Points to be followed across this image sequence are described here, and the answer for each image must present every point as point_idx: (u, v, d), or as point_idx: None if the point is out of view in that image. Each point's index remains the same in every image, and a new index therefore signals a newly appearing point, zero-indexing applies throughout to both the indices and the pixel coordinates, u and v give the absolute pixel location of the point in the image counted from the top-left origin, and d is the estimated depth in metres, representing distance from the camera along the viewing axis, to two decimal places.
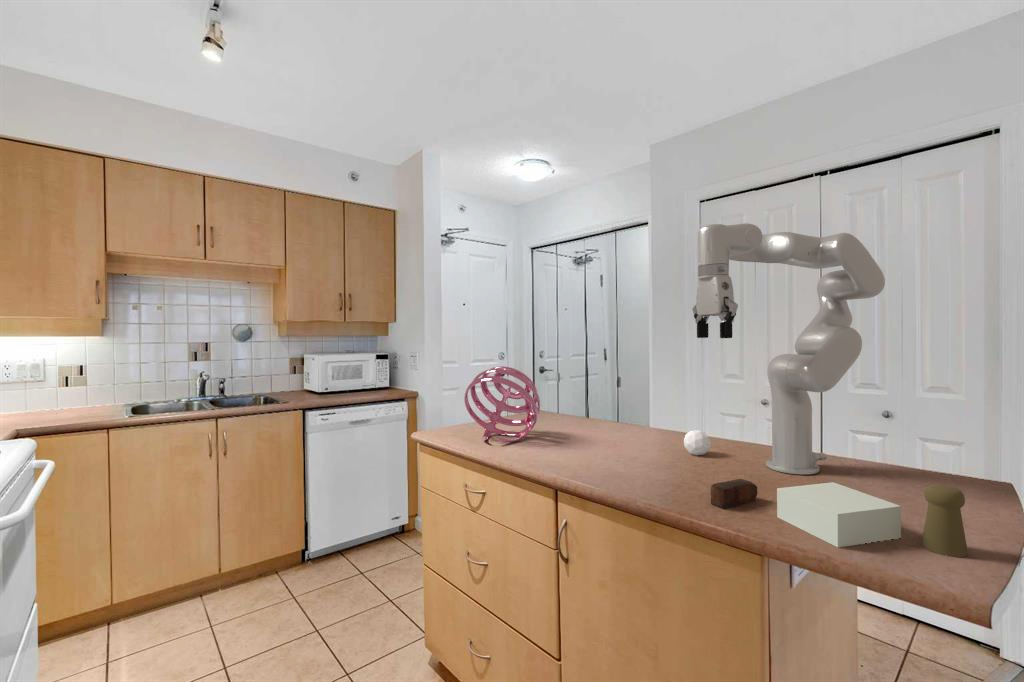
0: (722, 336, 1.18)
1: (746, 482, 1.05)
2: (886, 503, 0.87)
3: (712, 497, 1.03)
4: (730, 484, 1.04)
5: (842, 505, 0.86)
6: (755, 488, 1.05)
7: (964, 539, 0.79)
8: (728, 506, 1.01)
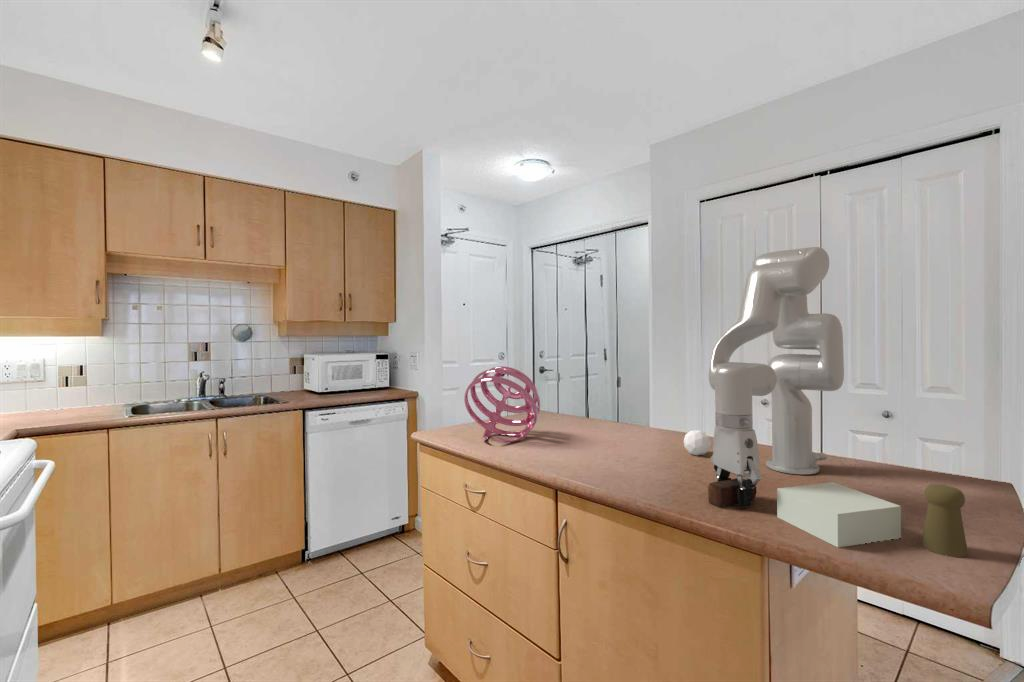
0: (740, 505, 1.01)
1: None
2: (886, 503, 0.87)
3: (710, 496, 1.04)
4: (728, 483, 1.04)
5: (842, 505, 0.86)
6: (754, 487, 1.05)
7: (964, 539, 0.79)
8: (725, 505, 1.02)
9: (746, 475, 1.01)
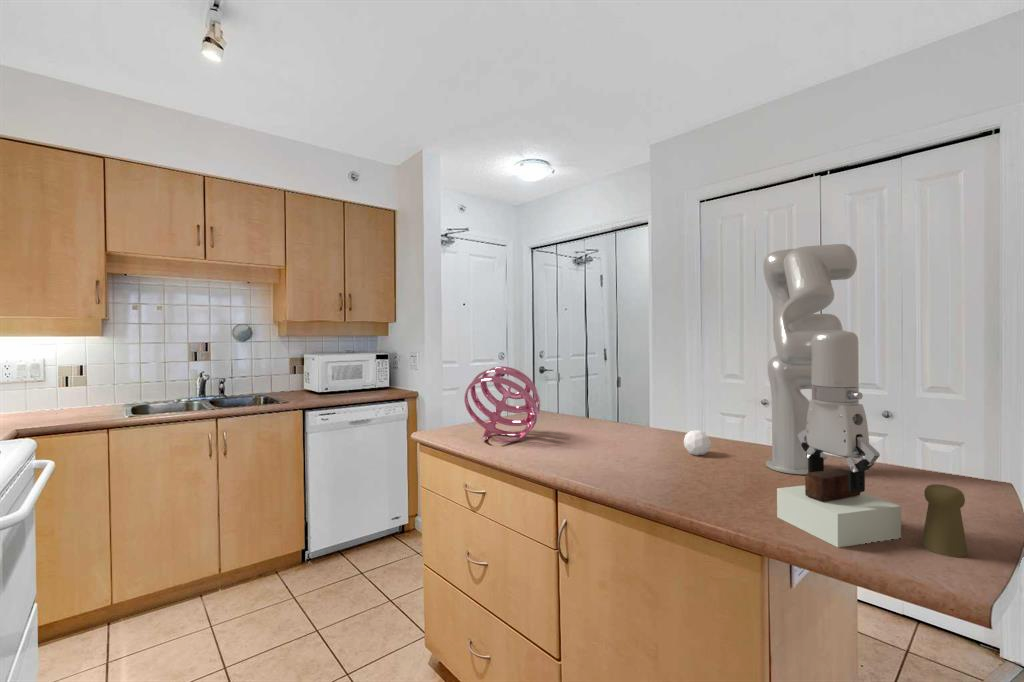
0: (852, 490, 0.86)
1: None
2: (886, 503, 0.87)
3: (807, 487, 0.91)
4: (829, 473, 0.90)
5: (842, 505, 0.86)
6: None
7: (964, 539, 0.79)
8: (827, 498, 0.88)
9: (856, 455, 0.86)
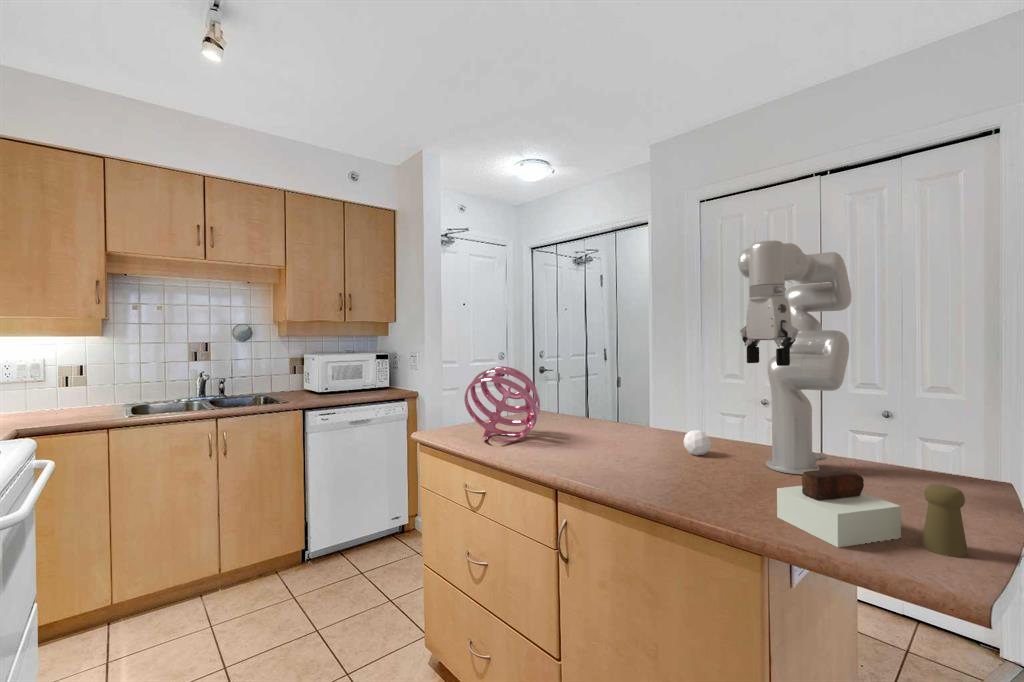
0: (779, 363, 1.07)
1: (849, 472, 0.91)
2: (886, 503, 0.87)
3: (804, 486, 0.92)
4: (827, 473, 0.91)
5: (842, 505, 0.86)
6: (860, 480, 0.90)
7: (964, 539, 0.79)
8: (823, 497, 0.89)
9: (782, 336, 1.08)
